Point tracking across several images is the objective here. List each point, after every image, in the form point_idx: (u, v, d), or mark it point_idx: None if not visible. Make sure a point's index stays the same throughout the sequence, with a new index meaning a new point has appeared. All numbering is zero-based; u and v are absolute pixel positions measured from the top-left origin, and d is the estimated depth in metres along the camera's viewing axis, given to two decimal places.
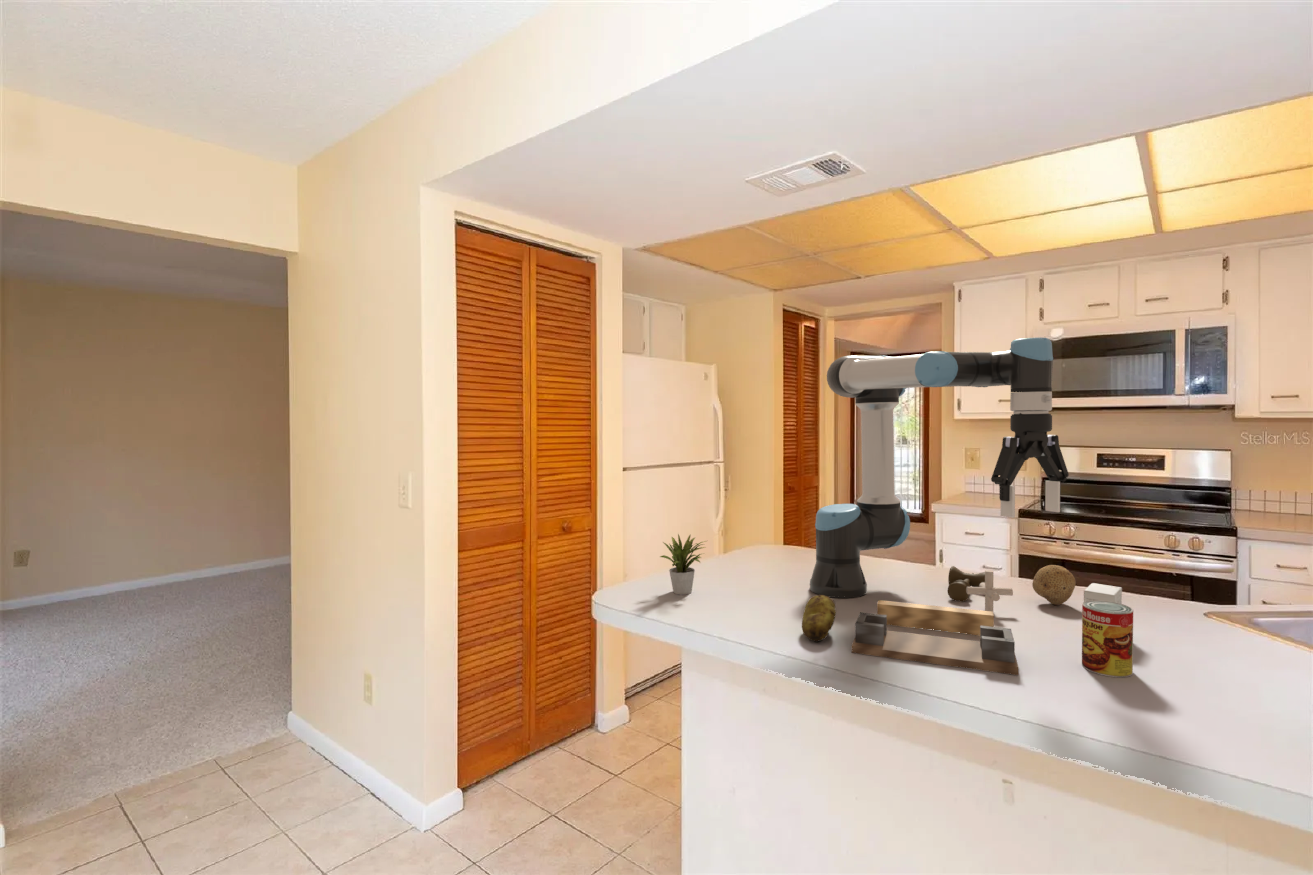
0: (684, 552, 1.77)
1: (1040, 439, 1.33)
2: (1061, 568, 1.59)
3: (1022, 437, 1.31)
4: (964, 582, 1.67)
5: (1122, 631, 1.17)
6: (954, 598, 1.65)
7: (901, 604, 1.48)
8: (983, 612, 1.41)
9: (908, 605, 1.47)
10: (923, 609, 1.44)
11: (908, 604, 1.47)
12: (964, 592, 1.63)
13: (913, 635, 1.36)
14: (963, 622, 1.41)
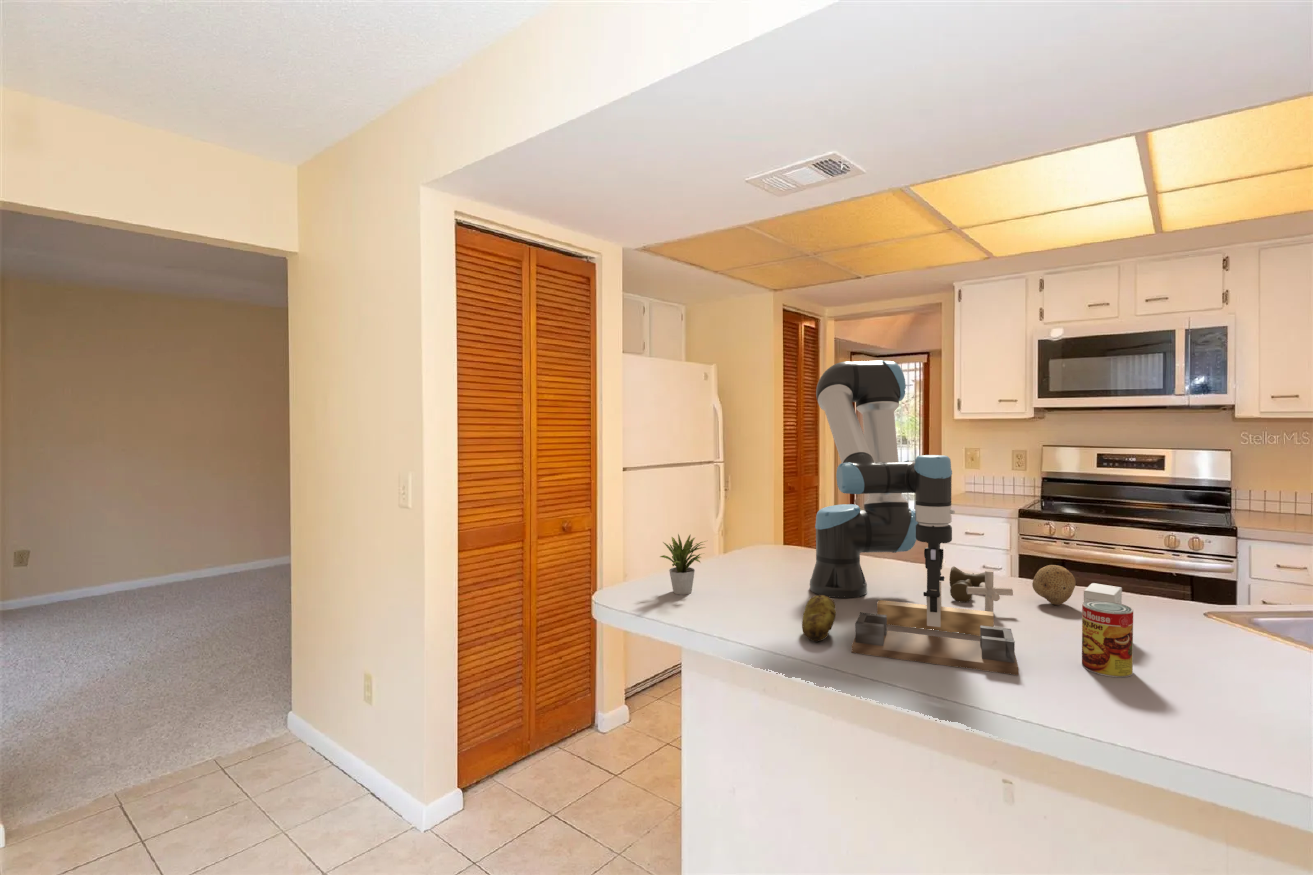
0: (684, 552, 1.77)
1: (939, 547, 1.45)
2: (1061, 568, 1.59)
3: (937, 549, 1.40)
4: (966, 582, 1.66)
5: (1122, 631, 1.17)
6: (957, 599, 1.64)
7: (901, 604, 1.48)
8: (983, 612, 1.41)
9: (908, 605, 1.47)
10: (923, 609, 1.44)
11: (908, 604, 1.47)
12: None
13: (913, 635, 1.36)
14: (963, 622, 1.41)
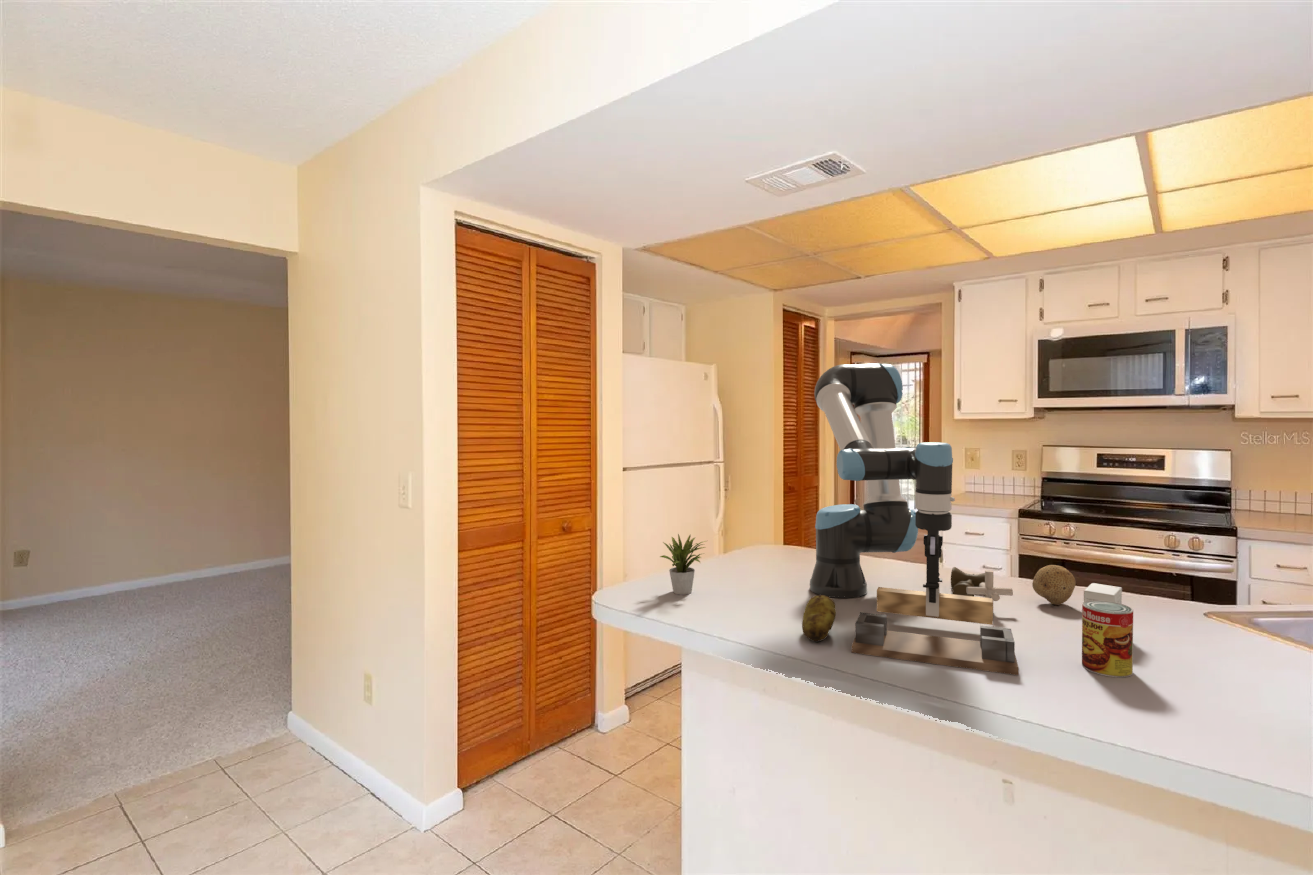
0: (684, 552, 1.77)
1: None
2: (1061, 568, 1.59)
3: (937, 539, 1.40)
4: (968, 583, 1.66)
5: (1122, 631, 1.17)
6: None
7: (901, 591, 1.48)
8: (982, 599, 1.41)
9: (908, 592, 1.47)
10: (923, 596, 1.45)
11: (908, 591, 1.48)
12: None
13: (913, 635, 1.36)
14: (962, 609, 1.41)
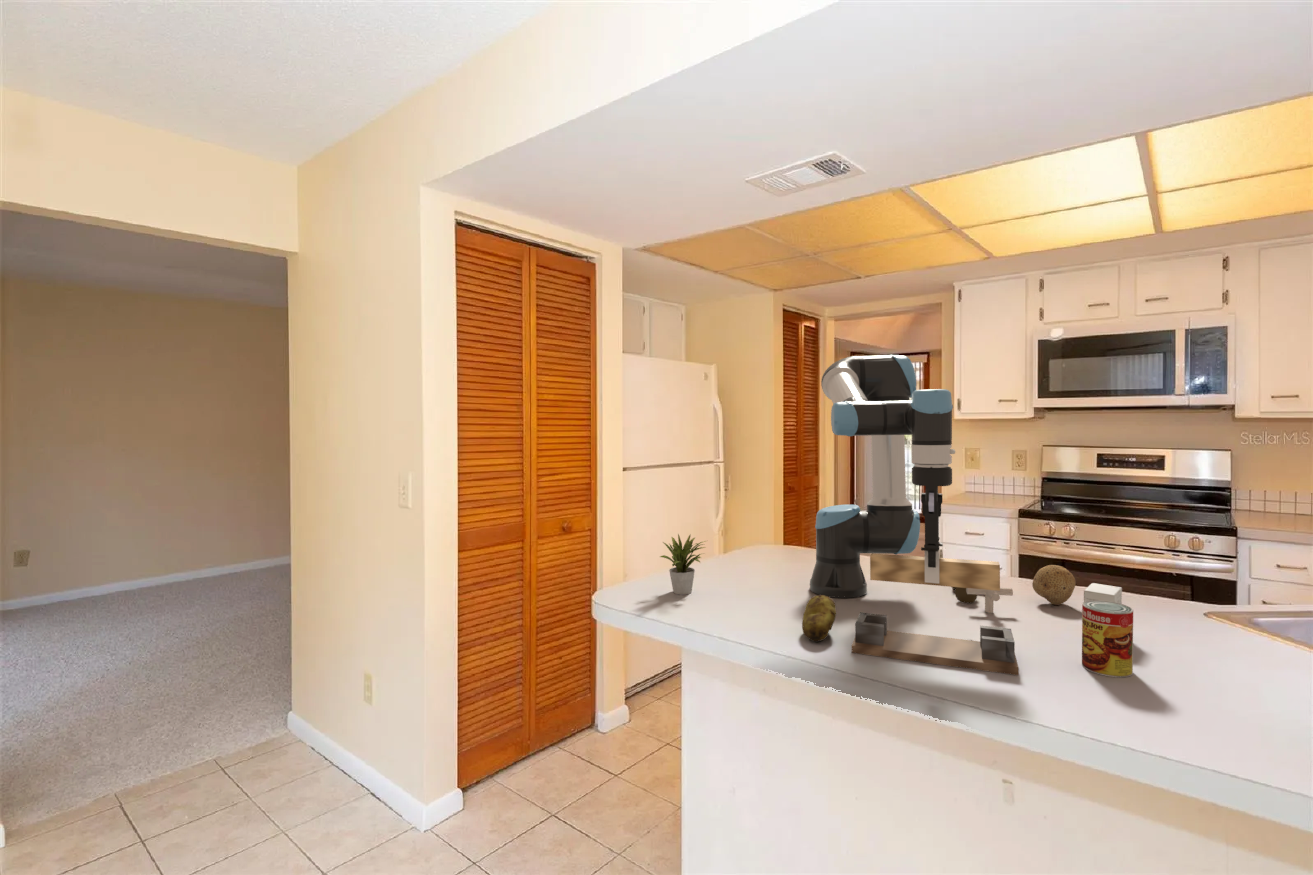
0: (684, 552, 1.77)
1: None
2: (1061, 568, 1.59)
3: (936, 494, 1.26)
4: None
5: (1122, 631, 1.17)
6: (962, 600, 1.63)
7: (897, 556, 1.33)
8: (988, 562, 1.26)
9: (904, 557, 1.32)
10: (921, 560, 1.30)
11: (904, 557, 1.32)
12: (972, 594, 1.62)
13: (913, 635, 1.36)
14: (966, 574, 1.26)
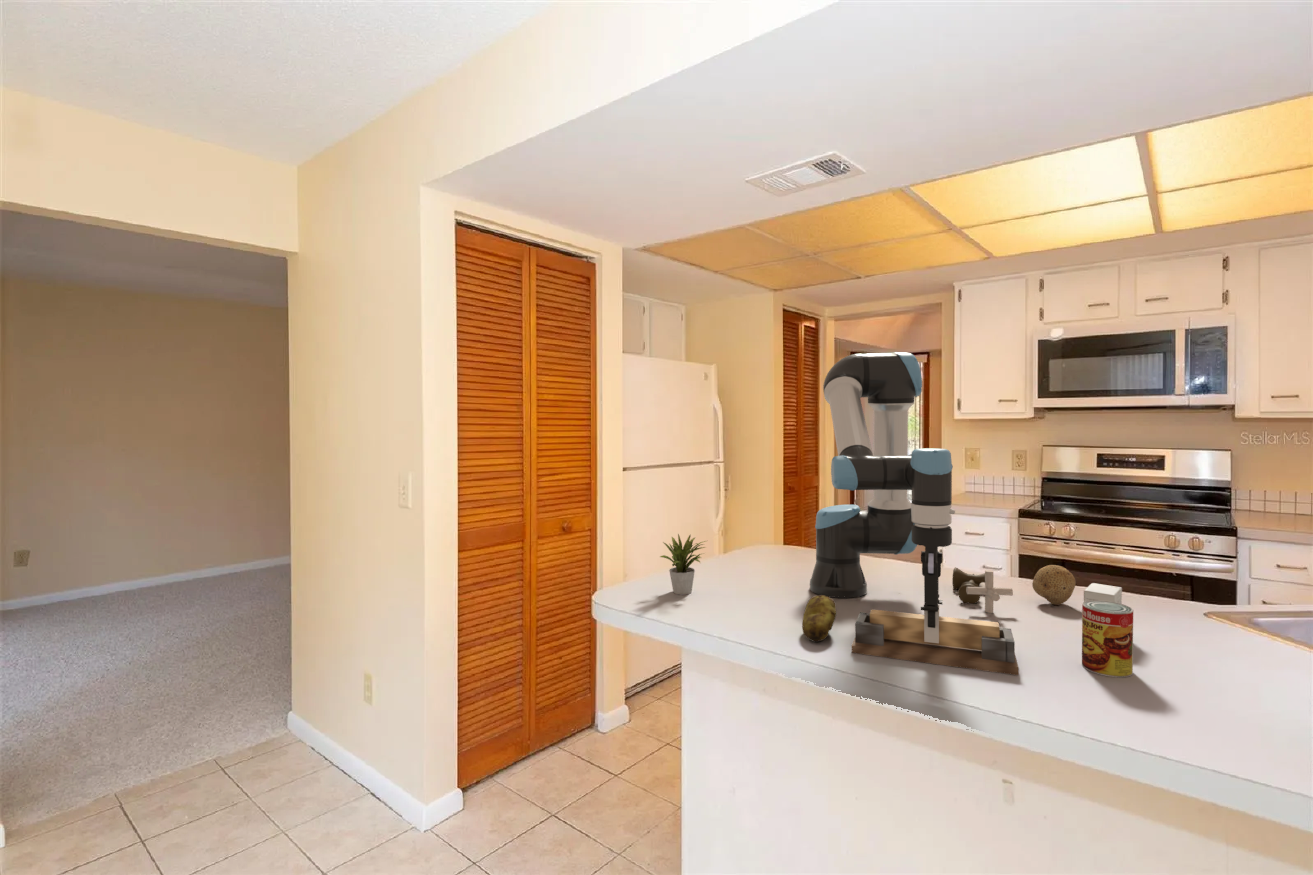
0: (684, 552, 1.77)
1: None
2: (1061, 568, 1.59)
3: (936, 555, 1.26)
4: (973, 584, 1.65)
5: (1122, 631, 1.17)
6: (966, 601, 1.63)
7: (896, 614, 1.33)
8: (987, 623, 1.26)
9: (904, 615, 1.32)
10: (921, 619, 1.30)
11: (904, 614, 1.32)
12: (976, 594, 1.61)
13: None
14: (965, 634, 1.26)
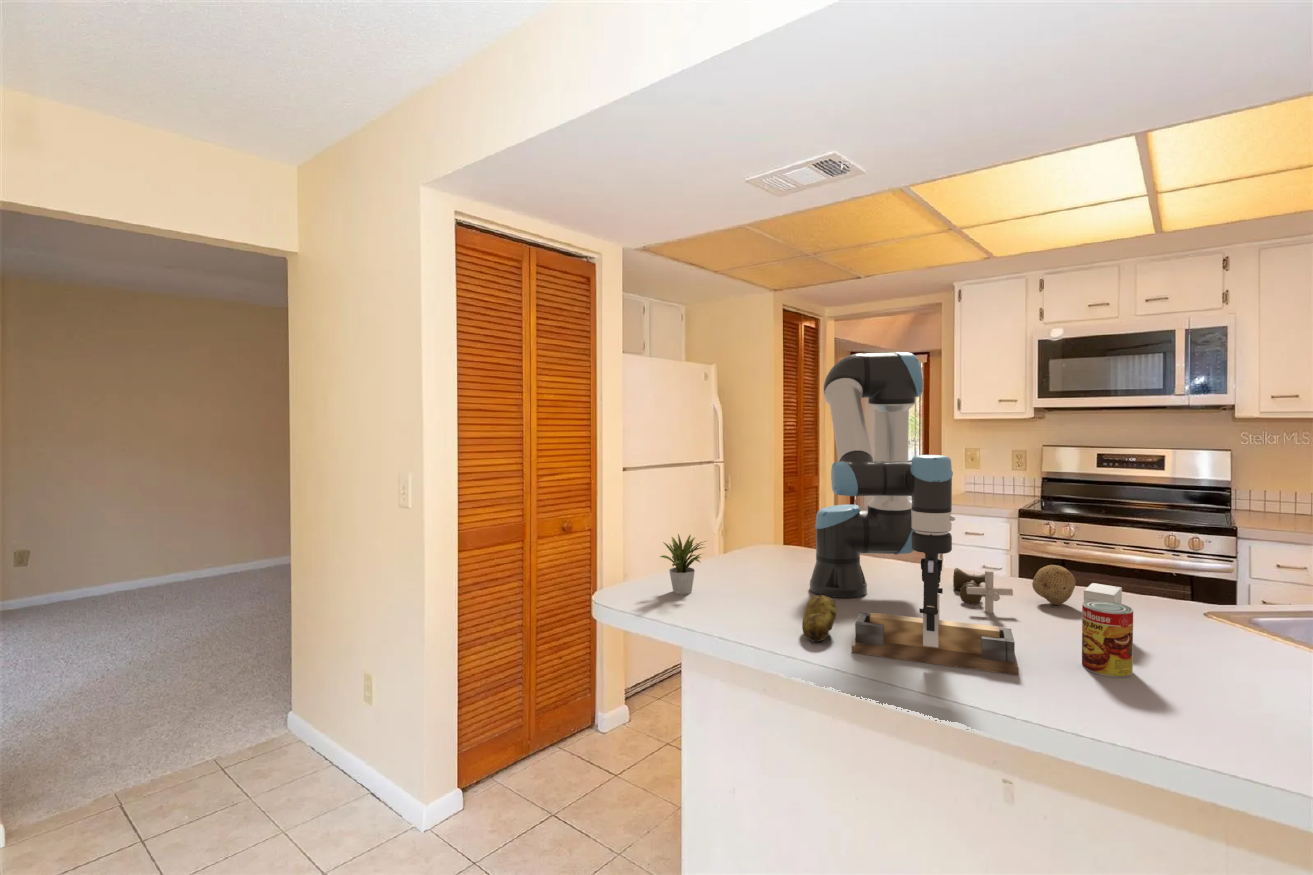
0: (684, 552, 1.77)
1: (937, 557, 1.31)
2: (1061, 568, 1.59)
3: (936, 560, 1.26)
4: (974, 584, 1.65)
5: (1122, 631, 1.17)
6: (967, 601, 1.62)
7: (897, 617, 1.33)
8: (987, 627, 1.26)
9: (904, 618, 1.32)
10: (921, 623, 1.30)
11: (904, 618, 1.33)
12: (977, 594, 1.61)
13: None
14: (965, 638, 1.26)
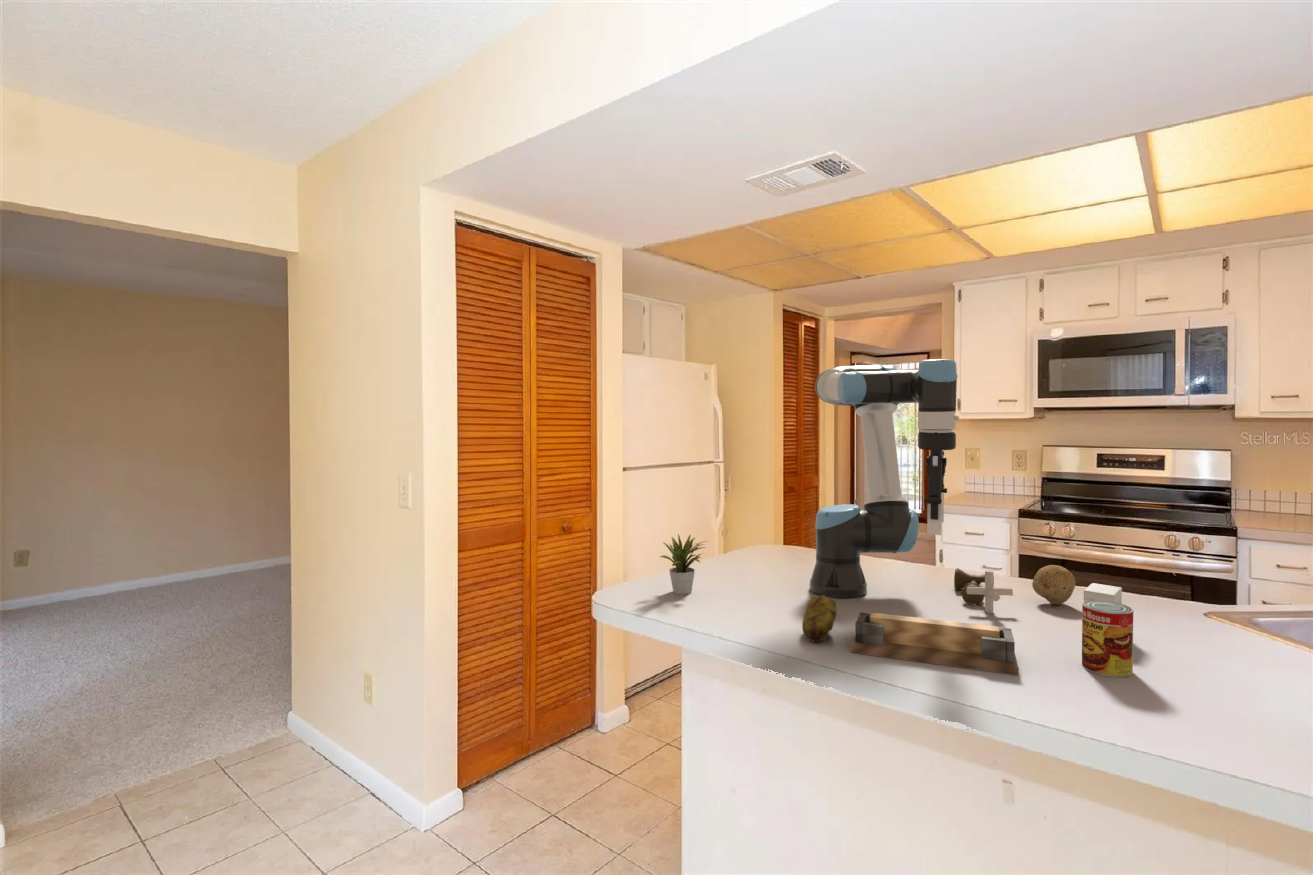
0: (684, 552, 1.77)
1: (942, 456, 1.39)
2: (1061, 568, 1.59)
3: (940, 455, 1.35)
4: (976, 585, 1.64)
5: (1122, 631, 1.17)
6: (969, 602, 1.62)
7: (897, 617, 1.33)
8: (987, 627, 1.26)
9: (904, 618, 1.32)
10: (921, 623, 1.30)
11: (904, 618, 1.33)
12: (980, 595, 1.61)
13: None
14: (965, 638, 1.26)
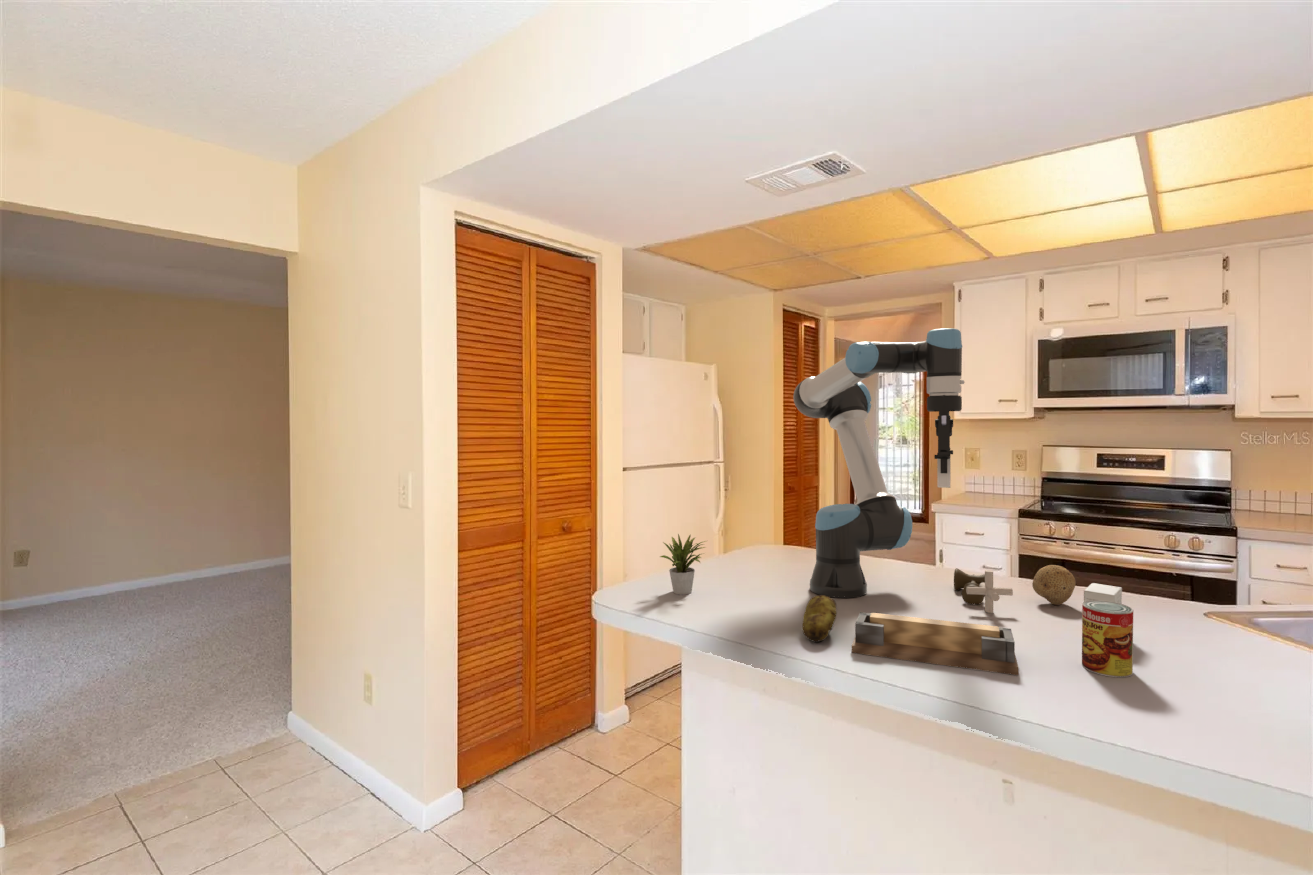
0: (684, 552, 1.77)
1: None
2: (1061, 568, 1.59)
3: (948, 416, 1.48)
4: (976, 585, 1.64)
5: (1122, 631, 1.17)
6: (969, 602, 1.62)
7: (897, 617, 1.33)
8: (987, 627, 1.26)
9: (904, 618, 1.32)
10: (921, 623, 1.30)
11: (904, 618, 1.33)
12: (979, 595, 1.61)
13: None
14: (965, 638, 1.26)
